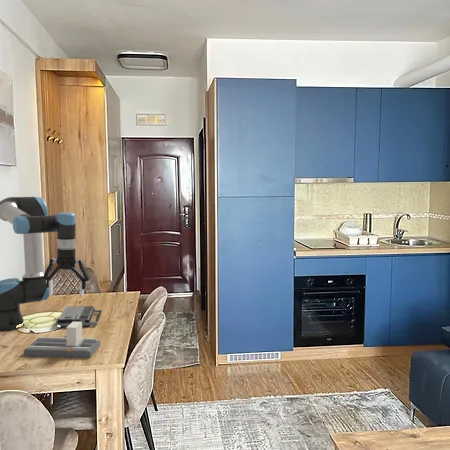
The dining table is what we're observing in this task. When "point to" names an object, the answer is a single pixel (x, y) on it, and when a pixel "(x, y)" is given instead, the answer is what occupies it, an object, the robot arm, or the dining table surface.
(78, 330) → the fader tab
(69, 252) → the robot arm
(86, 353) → the grey slider base
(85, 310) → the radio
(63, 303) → the dining table surface
